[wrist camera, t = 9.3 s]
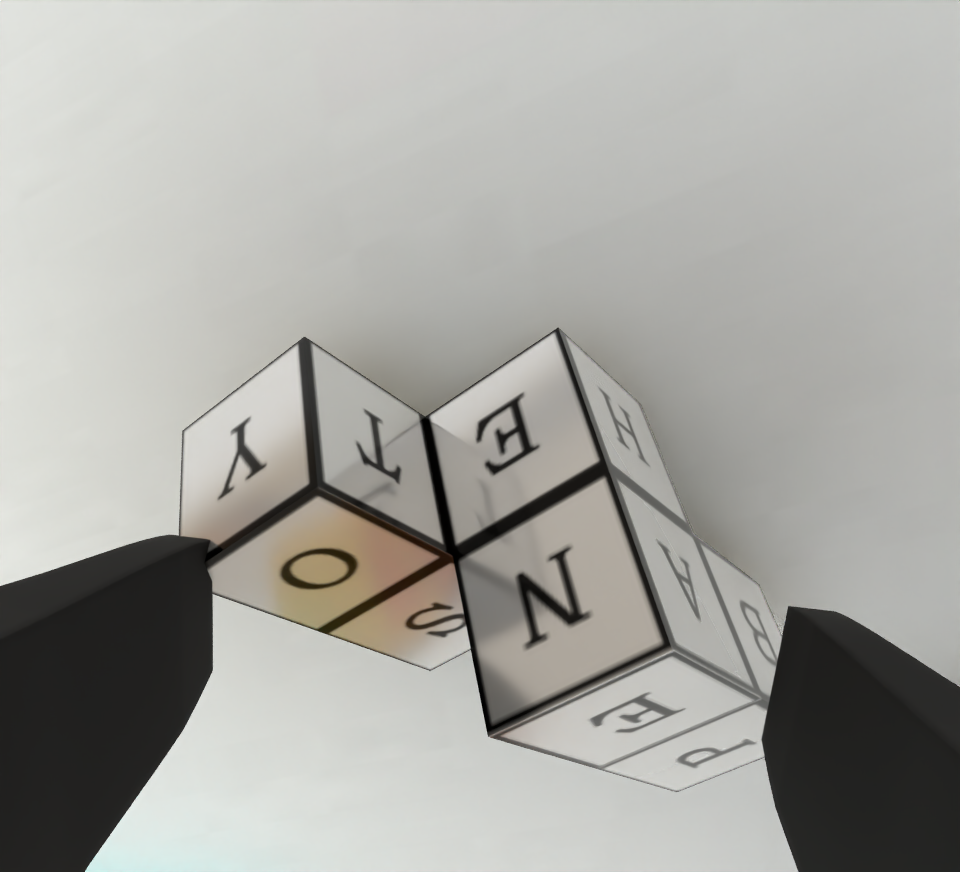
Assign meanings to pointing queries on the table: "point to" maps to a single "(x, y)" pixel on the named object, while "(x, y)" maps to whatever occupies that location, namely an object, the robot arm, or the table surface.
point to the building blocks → (493, 553)
